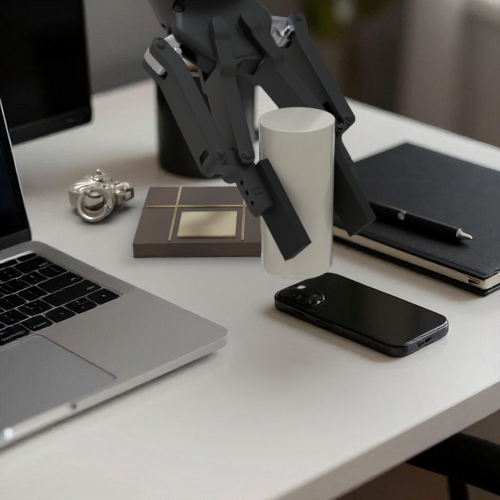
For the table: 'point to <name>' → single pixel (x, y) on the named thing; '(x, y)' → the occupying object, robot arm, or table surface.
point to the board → (196, 223)
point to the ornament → (98, 195)
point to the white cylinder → (301, 185)
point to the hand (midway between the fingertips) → (331, 238)
